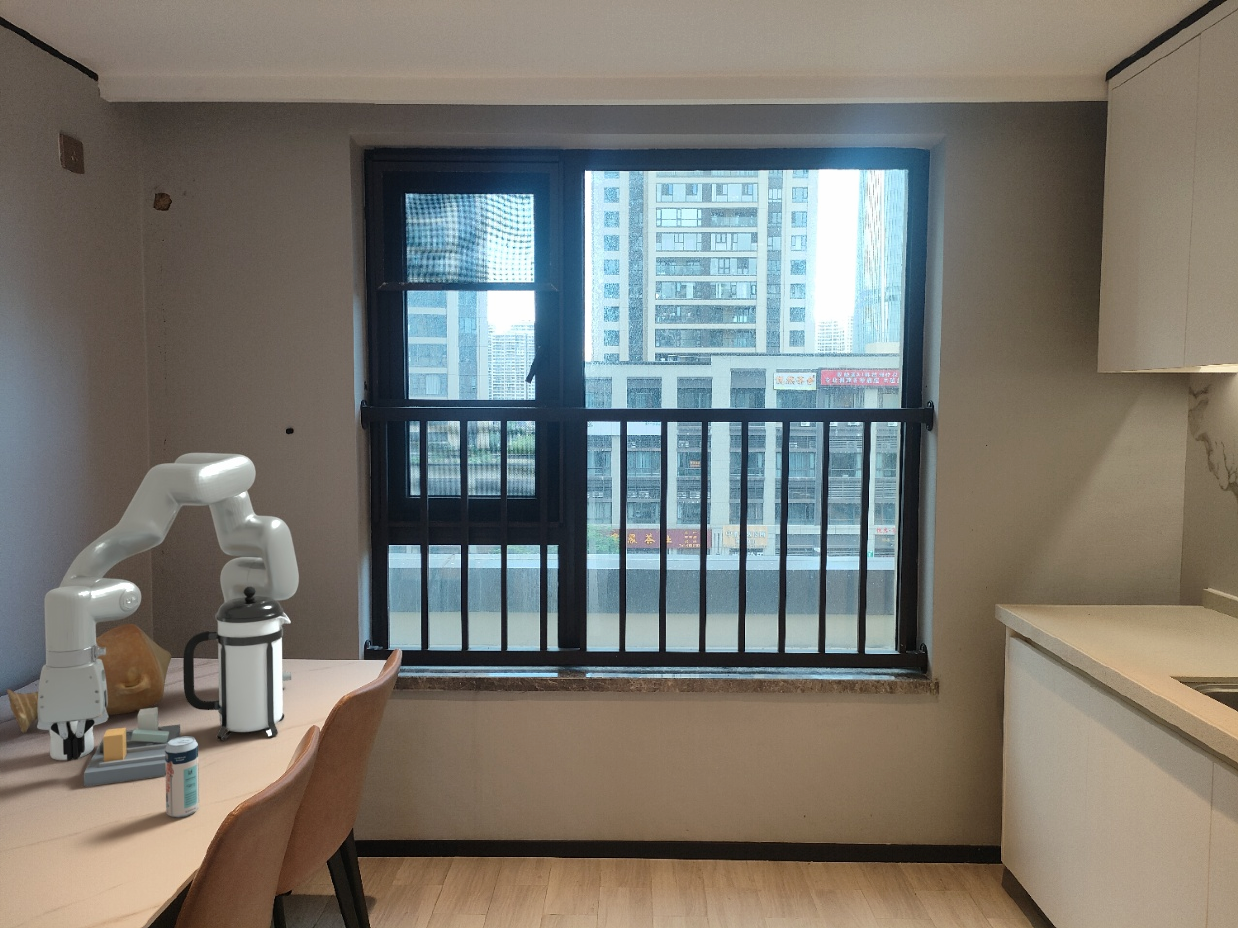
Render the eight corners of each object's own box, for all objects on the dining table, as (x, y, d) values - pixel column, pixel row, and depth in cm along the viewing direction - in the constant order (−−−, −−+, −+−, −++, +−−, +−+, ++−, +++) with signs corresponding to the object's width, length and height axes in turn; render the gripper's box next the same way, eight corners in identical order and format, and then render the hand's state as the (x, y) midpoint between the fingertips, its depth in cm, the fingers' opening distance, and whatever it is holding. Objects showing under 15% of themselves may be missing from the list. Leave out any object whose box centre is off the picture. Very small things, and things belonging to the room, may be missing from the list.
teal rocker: (167, 738, 162) (169, 731, 162) (166, 742, 160) (167, 735, 160) (132, 736, 160) (134, 728, 160) (130, 740, 158) (132, 732, 158)
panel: (180, 735, 171) (179, 718, 170) (167, 775, 152) (167, 755, 152) (106, 744, 166) (105, 726, 166) (84, 786, 147) (83, 766, 147)
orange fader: (126, 753, 155) (125, 727, 155) (123, 760, 152) (122, 734, 152) (107, 755, 154) (107, 729, 154) (103, 763, 151) (103, 736, 151)
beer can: (174, 805, 141) (172, 735, 140) (203, 805, 141) (202, 734, 140) (161, 819, 136) (159, 746, 135) (191, 818, 136) (190, 746, 135)
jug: (190, 662, 181) (23, 713, 160) (182, 715, 191) (24, 769, 170) (157, 597, 190) (-4, 636, 169) (151, 651, 200) (-2, 694, 179)
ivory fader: (158, 731, 166) (157, 707, 166) (155, 738, 163) (155, 713, 163) (141, 733, 165) (140, 708, 165) (138, 740, 162) (137, 715, 162)
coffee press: (261, 710, 185) (259, 576, 184) (305, 727, 176) (303, 585, 174) (182, 734, 171) (179, 588, 170) (225, 753, 162) (223, 599, 160)
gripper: (123, 647, 156) (125, 744, 157) (27, 654, 151) (30, 755, 152) (115, 658, 149) (118, 759, 150) (15, 666, 144) (18, 771, 145)
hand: (74, 757), depth 151 cm, fingers closed
